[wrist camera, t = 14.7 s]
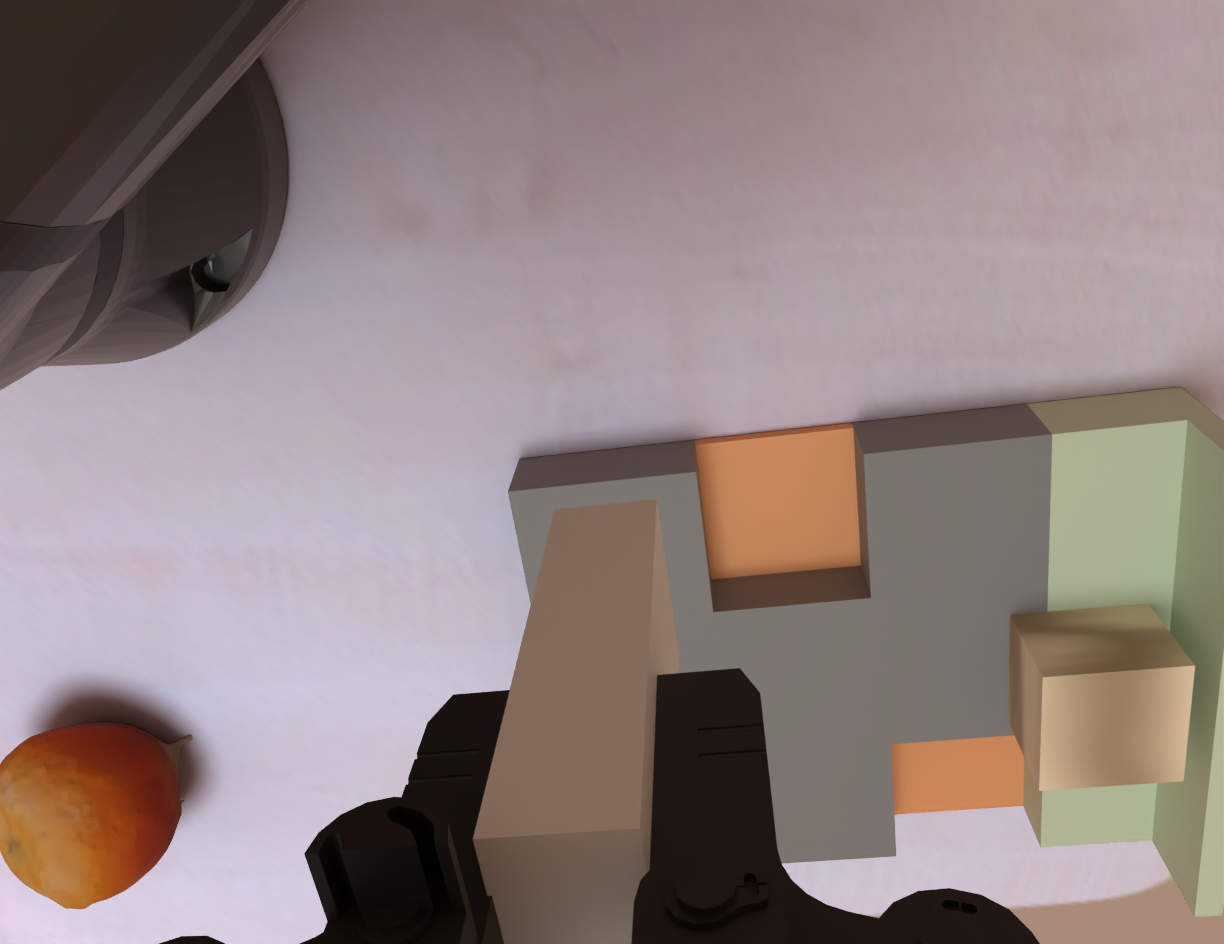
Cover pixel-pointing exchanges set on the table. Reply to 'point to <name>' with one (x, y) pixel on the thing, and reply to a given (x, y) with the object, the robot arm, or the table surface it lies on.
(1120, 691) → the block
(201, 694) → the table surface
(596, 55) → the table surface
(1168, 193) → the table surface
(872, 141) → the table surface
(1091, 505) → the box
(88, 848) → the fruit
